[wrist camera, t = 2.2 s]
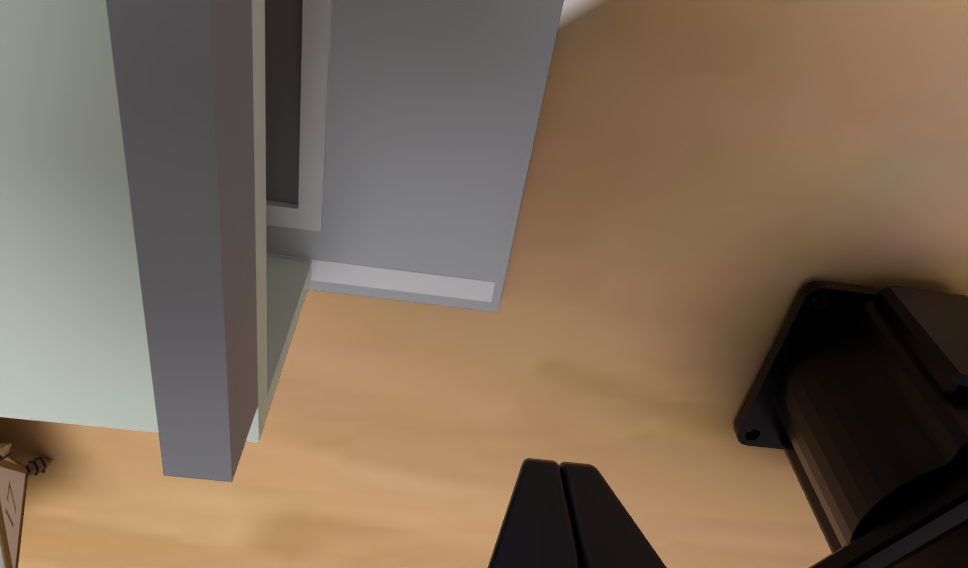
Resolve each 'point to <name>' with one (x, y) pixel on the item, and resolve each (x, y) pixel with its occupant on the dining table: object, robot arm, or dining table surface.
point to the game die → (13, 502)
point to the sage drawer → (140, 224)
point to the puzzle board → (402, 141)
